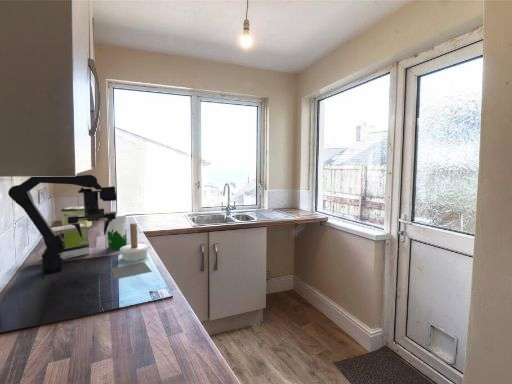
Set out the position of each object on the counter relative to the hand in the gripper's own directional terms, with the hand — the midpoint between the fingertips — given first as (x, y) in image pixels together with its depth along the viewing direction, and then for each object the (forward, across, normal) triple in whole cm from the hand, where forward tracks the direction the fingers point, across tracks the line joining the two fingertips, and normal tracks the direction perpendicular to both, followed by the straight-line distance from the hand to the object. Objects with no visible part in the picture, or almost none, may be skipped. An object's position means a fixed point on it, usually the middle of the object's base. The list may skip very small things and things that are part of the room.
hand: (93, 236), depth 131 cm
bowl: (+13, +17, -2) cm, 21 cm away
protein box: (+13, -3, +86) cm, 87 cm away
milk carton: (+13, +13, +22) cm, 29 cm away
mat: (+13, +12, -19) cm, 26 cm away
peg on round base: (+8, +17, -2) cm, 19 cm away
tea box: (+13, -9, +21) cm, 26 cm away
